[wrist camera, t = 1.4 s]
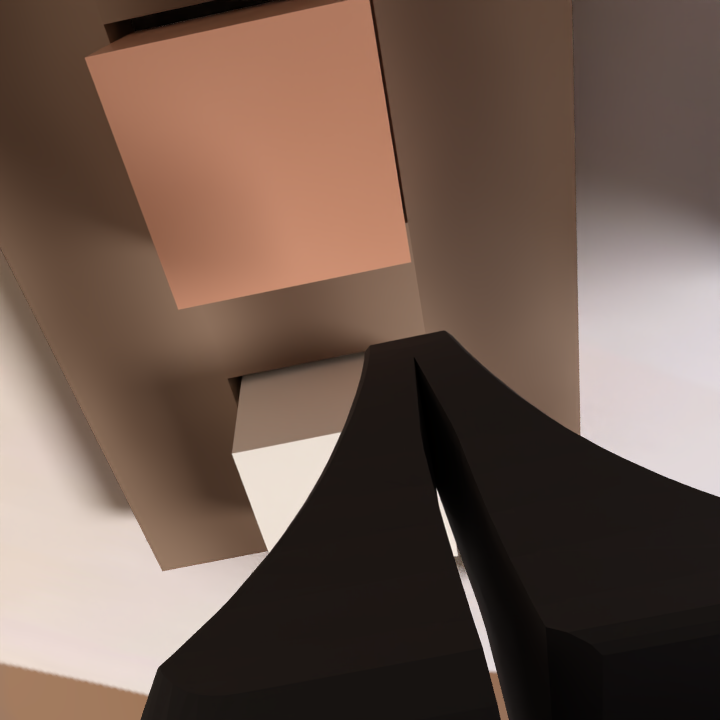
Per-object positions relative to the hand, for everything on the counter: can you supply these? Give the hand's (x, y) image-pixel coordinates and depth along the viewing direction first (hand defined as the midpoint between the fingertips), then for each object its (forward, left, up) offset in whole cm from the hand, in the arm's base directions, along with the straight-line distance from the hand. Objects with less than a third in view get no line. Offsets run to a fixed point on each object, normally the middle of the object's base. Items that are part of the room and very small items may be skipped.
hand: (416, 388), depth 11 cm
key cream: (+2, +6, -8) cm, 10 cm away
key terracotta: (+2, -3, -8) cm, 9 cm away
